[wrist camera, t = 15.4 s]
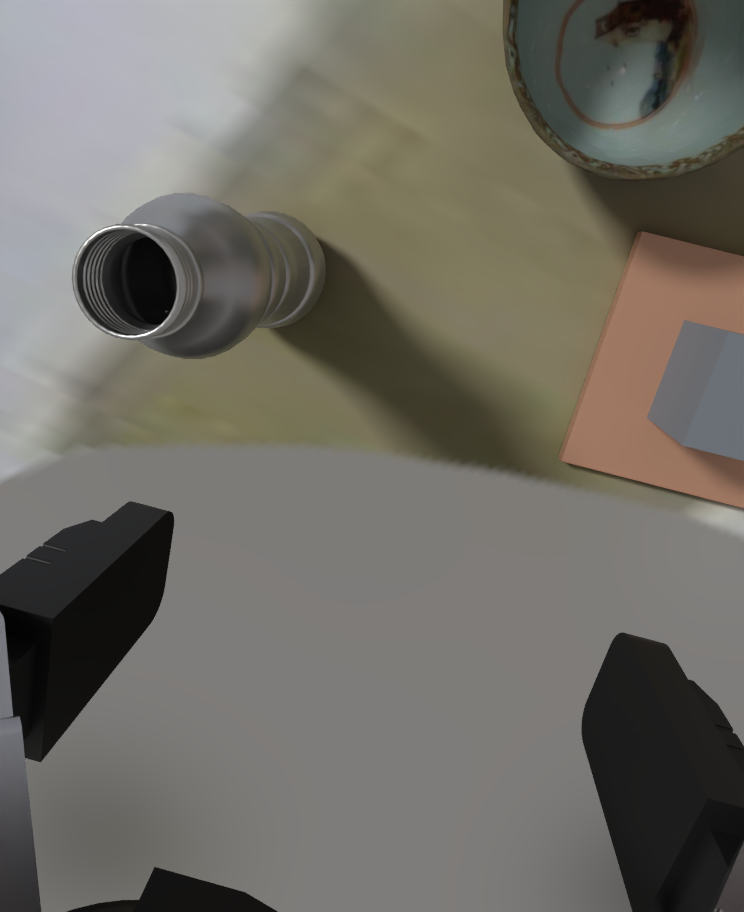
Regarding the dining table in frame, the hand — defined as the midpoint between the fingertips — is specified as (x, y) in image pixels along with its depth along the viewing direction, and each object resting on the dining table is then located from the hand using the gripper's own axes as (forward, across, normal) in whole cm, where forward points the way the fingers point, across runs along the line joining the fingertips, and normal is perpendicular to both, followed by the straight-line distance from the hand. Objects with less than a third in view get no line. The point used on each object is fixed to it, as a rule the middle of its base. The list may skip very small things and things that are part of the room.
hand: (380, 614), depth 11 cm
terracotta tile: (+30, -17, -3) cm, 35 cm away
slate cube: (+29, -17, -3) cm, 34 cm away
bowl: (+30, -6, -18) cm, 36 cm away
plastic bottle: (+30, +10, -3) cm, 32 cm away
